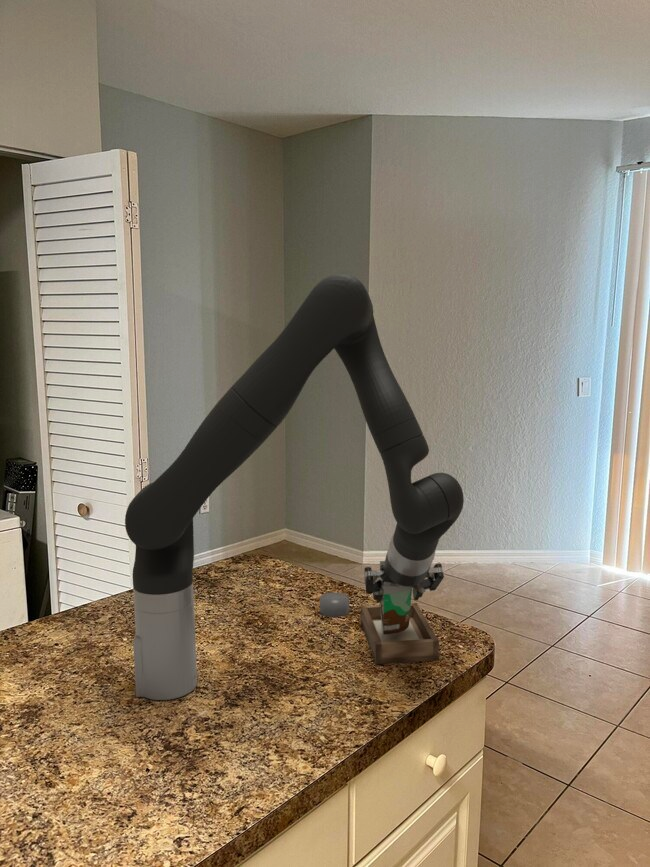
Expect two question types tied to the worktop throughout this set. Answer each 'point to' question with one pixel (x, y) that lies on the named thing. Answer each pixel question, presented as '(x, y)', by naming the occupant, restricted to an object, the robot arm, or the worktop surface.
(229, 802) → the worktop surface
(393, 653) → the tray
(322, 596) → the grey domed puck
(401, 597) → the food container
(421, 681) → the worktop surface
